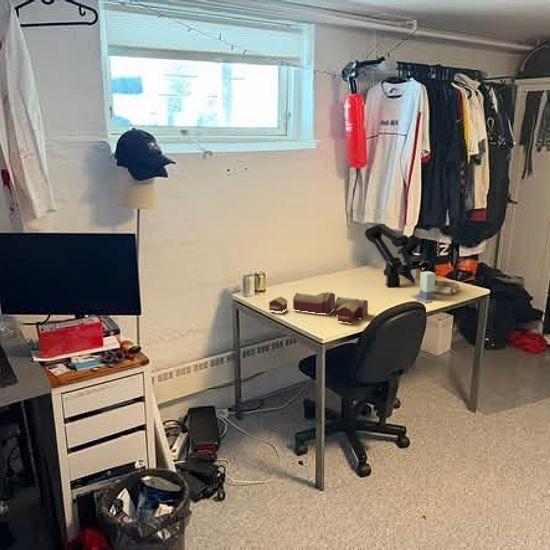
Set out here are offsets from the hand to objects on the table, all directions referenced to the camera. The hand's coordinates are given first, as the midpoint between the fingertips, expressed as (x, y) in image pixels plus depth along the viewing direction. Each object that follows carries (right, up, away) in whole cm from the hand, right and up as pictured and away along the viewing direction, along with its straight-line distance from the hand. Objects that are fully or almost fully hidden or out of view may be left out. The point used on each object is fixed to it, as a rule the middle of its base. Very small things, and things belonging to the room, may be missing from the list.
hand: (421, 282), depth 273 cm
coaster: (+2, -9, -2) cm, 9 cm away
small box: (+7, +2, +39) cm, 40 cm away
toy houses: (-55, -15, -18) cm, 59 cm away
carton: (+13, -5, +9) cm, 17 cm away
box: (+2, -8, -2) cm, 8 cm away
